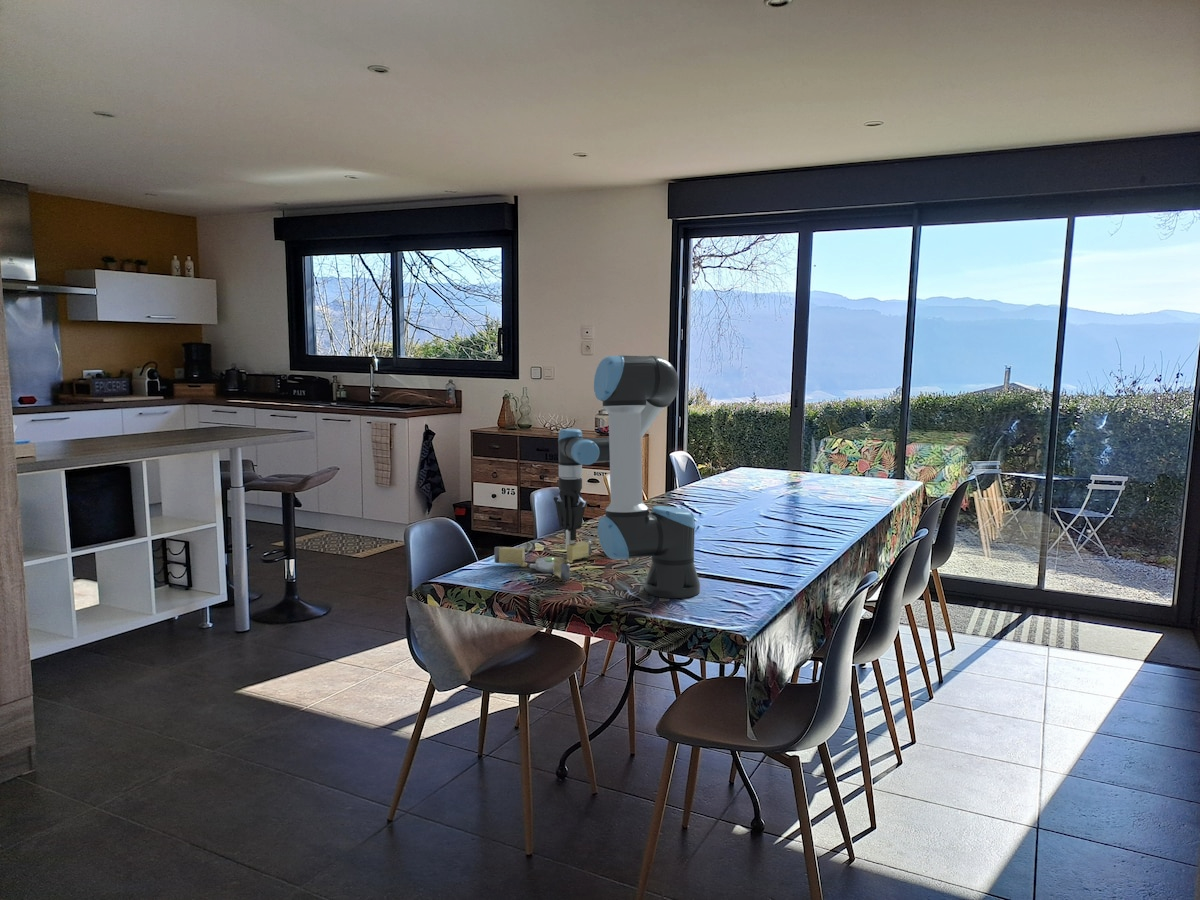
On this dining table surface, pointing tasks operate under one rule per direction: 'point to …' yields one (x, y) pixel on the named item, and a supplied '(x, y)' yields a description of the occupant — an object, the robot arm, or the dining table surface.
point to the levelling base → (544, 565)
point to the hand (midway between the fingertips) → (570, 549)
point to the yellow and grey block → (510, 555)
